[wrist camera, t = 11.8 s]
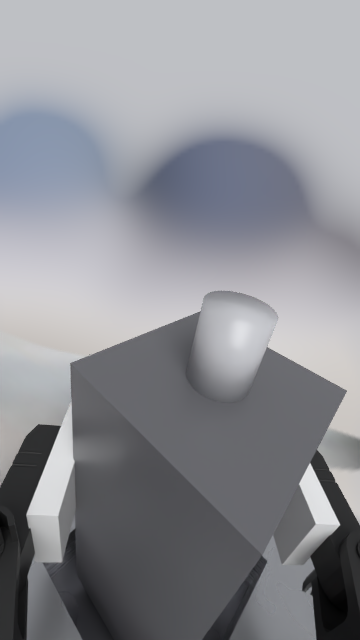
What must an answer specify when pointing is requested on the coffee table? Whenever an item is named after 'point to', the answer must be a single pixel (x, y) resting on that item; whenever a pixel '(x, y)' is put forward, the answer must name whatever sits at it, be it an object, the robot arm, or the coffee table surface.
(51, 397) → the coffee table surface
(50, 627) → the socket plate
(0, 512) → the robot arm
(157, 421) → the plug
